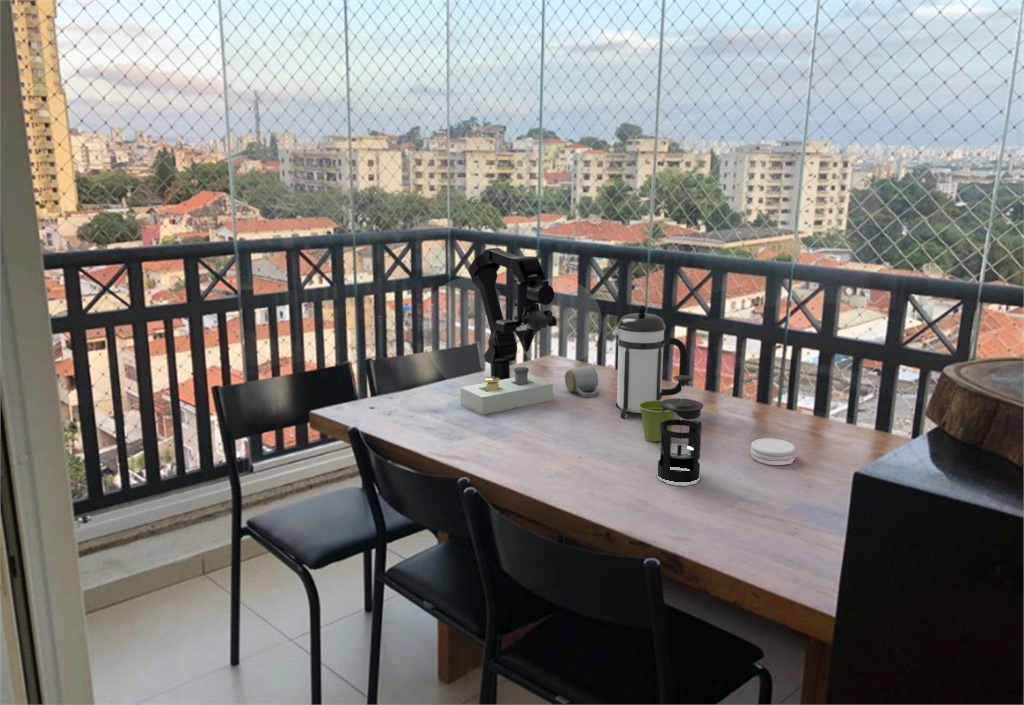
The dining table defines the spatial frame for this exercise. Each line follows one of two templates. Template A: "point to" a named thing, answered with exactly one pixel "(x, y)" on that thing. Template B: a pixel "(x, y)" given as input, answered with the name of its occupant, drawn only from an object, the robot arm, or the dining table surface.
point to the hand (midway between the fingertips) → (526, 351)
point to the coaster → (773, 449)
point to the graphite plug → (521, 376)
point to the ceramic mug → (582, 380)
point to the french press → (680, 452)
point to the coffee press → (643, 360)
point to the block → (506, 395)
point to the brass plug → (492, 383)
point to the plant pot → (654, 419)
